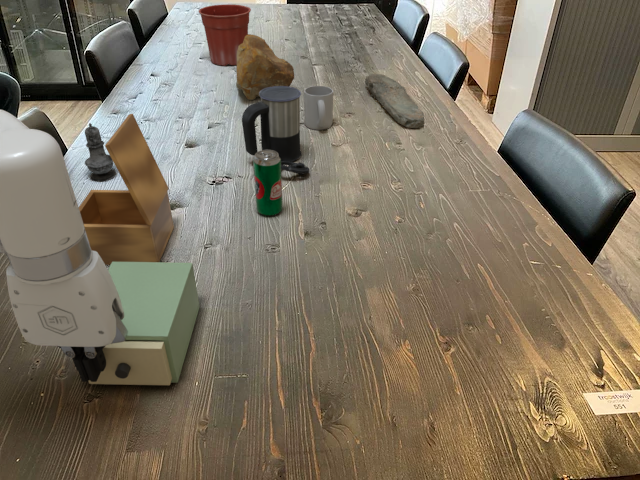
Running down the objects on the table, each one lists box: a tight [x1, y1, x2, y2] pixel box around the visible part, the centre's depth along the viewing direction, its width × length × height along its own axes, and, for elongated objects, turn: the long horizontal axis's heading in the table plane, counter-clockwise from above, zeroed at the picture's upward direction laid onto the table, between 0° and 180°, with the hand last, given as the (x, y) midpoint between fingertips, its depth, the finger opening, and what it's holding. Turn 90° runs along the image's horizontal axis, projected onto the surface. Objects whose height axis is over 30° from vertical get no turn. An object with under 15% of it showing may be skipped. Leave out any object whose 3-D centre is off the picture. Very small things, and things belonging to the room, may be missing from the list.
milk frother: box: [241, 86, 310, 176], centre depth 117 cm, size 14×16×15 cm
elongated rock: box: [364, 73, 425, 129], centre depth 149 cm, size 35×5×10 cm
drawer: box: [88, 340, 172, 386], centre depth 72 cm, size 15×10×7 cm
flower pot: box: [198, 3, 252, 67], centre depth 176 cm, size 16×16×16 cm
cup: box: [303, 85, 334, 131], centre depth 135 cm, size 7×10×9 cm
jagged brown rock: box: [235, 33, 295, 101], centre depth 153 cm, size 23×17×15 cm
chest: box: [78, 189, 175, 266], centre depth 93 cm, size 14×12×8 cm
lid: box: [104, 113, 170, 226], centre depth 87 cm, size 14×12×1 cm
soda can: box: [252, 149, 284, 217], centre depth 102 cm, size 5×5×12 cm
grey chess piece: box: [84, 122, 117, 183], centre depth 113 cm, size 6×6×12 cm
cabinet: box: [107, 261, 201, 384], centre depth 74 cm, size 15×12×9 cm
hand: (94, 372), depth 66 cm, fingers closed
